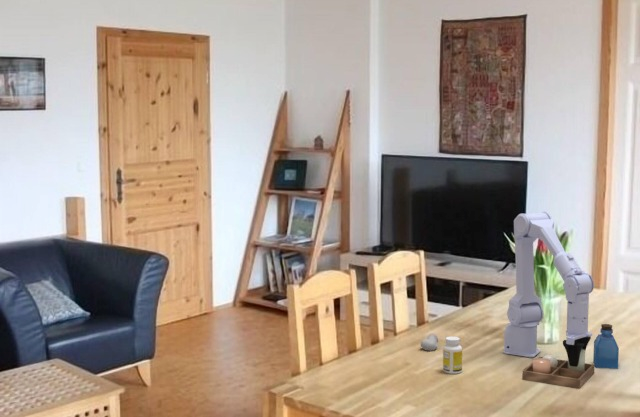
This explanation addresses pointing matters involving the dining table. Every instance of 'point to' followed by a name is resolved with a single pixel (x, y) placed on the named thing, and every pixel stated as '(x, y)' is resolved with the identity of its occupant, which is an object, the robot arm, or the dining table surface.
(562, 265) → the robot arm
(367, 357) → the dining table surface
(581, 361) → the sage green cylinder
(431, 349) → the smooth white sculpture
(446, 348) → the supplement bottle
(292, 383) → the dining table surface
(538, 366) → the pink rounded cylinder
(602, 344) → the perfume bottle
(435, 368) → the dining table surface
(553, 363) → the egg
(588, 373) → the wooden compartment tray
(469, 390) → the dining table surface
